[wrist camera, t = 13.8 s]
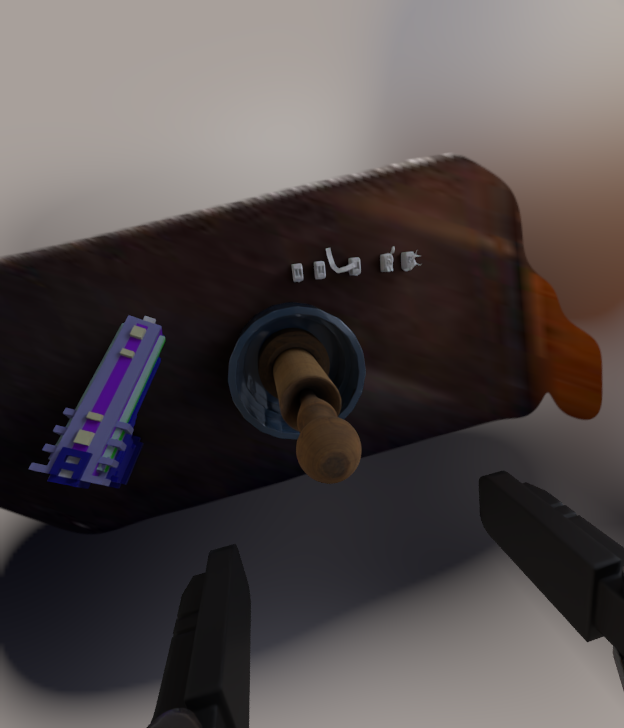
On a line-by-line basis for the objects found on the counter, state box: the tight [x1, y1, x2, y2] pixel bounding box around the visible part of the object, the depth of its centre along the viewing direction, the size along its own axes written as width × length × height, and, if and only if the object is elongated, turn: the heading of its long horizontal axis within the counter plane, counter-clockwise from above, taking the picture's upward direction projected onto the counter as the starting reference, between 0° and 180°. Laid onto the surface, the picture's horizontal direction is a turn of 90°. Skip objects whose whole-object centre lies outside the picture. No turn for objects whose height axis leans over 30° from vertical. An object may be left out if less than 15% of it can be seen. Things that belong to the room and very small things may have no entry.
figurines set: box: [291, 246, 421, 282], centre depth 29 cm, size 12×3×3 cm, turn 96°
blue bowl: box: [228, 302, 366, 439], centre depth 29 cm, size 11×11×6 cm
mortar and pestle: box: [258, 328, 361, 484], centre depth 22 cm, size 7×6×18 cm
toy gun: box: [29, 315, 165, 489], centre depth 27 cm, size 4×13×10 cm
